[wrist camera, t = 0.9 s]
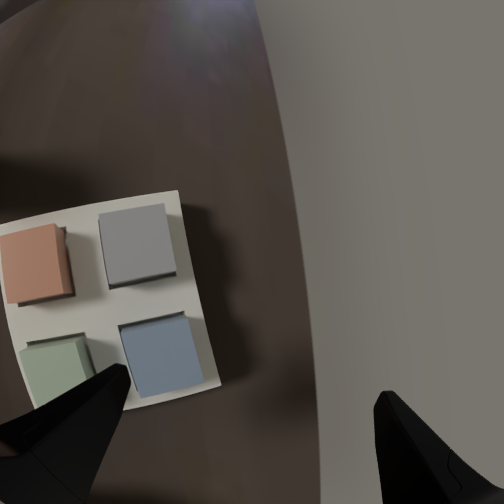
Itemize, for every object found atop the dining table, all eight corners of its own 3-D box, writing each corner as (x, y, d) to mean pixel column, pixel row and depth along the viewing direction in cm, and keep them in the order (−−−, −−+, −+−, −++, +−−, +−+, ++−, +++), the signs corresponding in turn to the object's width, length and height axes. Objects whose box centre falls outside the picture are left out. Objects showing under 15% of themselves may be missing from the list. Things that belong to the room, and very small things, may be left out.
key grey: (112, 285, 19) (109, 283, 16) (102, 223, 19) (98, 214, 16) (171, 273, 21) (176, 270, 18) (160, 214, 21) (164, 202, 18)
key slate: (139, 385, 18) (140, 398, 16) (122, 328, 19) (120, 333, 16) (195, 371, 20) (204, 382, 18) (181, 315, 20) (187, 318, 18)
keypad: (49, 408, 17) (40, 422, 14) (9, 233, 18) (-5, 225, 15) (211, 375, 23) (221, 385, 20) (172, 202, 24) (177, 190, 21)
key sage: (50, 400, 15) (40, 414, 13) (31, 345, 16) (18, 351, 13) (100, 393, 17) (96, 406, 15) (82, 336, 17) (75, 342, 15)
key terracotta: (21, 302, 16) (7, 303, 13) (14, 242, 16) (-1, 236, 13) (72, 292, 18) (63, 292, 15) (63, 231, 18) (54, 223, 15)
